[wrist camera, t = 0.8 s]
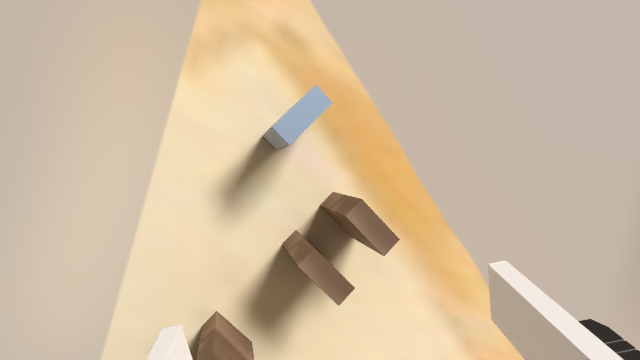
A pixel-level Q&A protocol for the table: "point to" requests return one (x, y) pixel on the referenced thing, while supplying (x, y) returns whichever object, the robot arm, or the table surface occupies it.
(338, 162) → the table surface
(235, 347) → the domino
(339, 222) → the domino
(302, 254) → the domino
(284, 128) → the domino
